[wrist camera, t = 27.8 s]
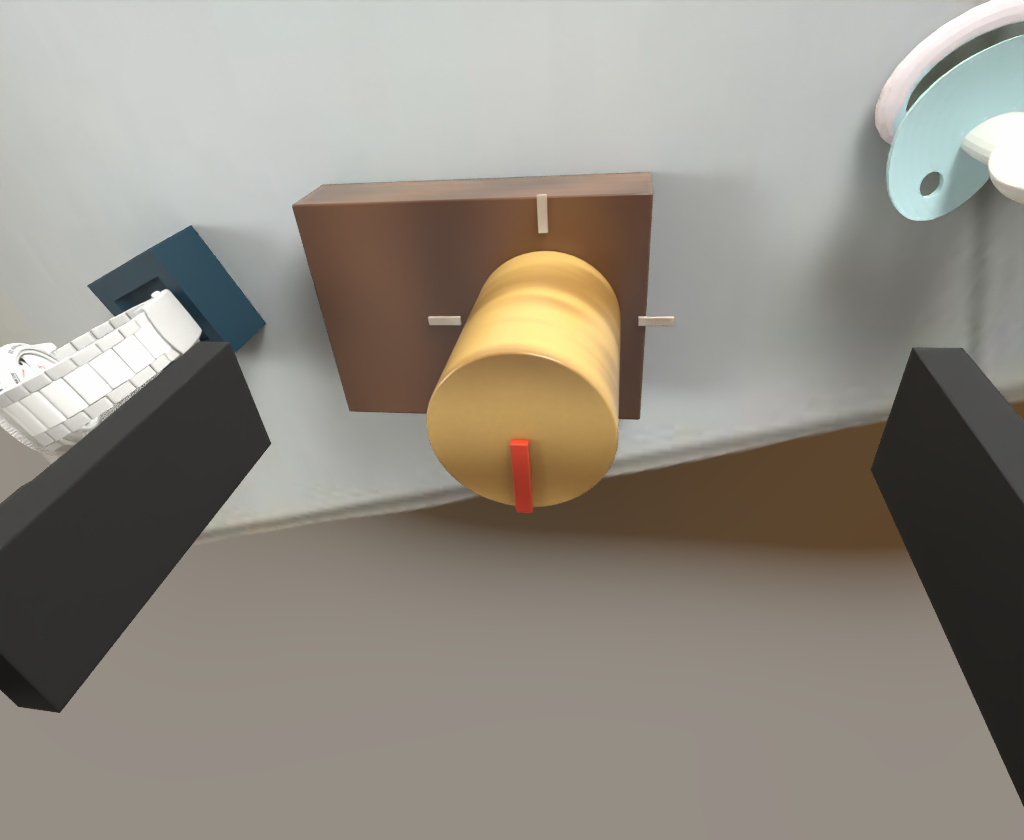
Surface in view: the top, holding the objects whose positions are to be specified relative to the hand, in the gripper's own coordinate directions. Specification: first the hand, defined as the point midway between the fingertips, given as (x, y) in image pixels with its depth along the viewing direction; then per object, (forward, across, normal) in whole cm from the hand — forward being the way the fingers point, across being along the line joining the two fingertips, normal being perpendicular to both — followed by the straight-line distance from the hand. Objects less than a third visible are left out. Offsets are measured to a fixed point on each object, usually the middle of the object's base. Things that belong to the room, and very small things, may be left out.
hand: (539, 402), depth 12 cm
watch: (+16, -20, -4) cm, 26 cm away
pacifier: (+16, +13, +2) cm, 21 cm away
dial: (+13, -2, -5) cm, 13 cm away
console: (+16, -5, -5) cm, 17 cm away
